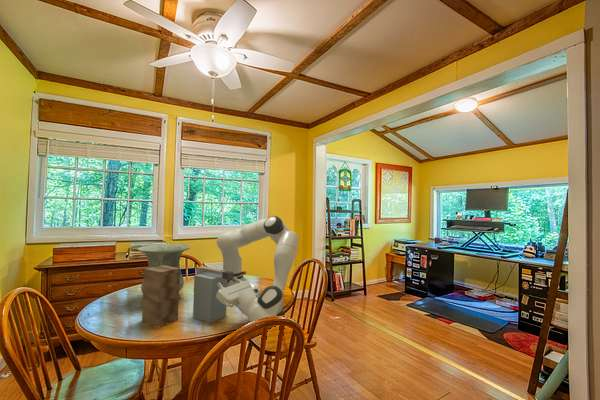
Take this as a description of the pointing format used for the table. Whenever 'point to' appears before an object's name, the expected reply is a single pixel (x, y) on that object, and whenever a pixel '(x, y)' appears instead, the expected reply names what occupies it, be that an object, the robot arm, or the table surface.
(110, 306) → the table surface
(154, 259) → the vessel
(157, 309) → the walnut pillar
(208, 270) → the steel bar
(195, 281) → the slate block
